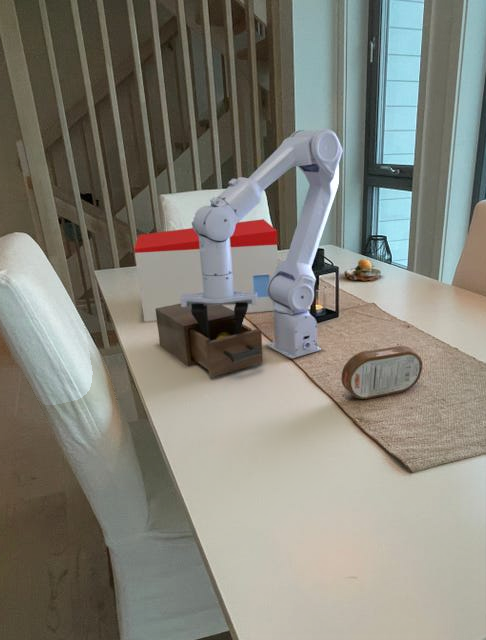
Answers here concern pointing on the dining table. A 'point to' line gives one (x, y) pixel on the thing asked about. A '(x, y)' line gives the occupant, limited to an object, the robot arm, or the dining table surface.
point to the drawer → (225, 347)
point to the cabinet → (184, 327)
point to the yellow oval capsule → (222, 335)
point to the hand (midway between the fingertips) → (222, 339)
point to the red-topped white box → (185, 265)
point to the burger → (363, 271)
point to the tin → (381, 372)
